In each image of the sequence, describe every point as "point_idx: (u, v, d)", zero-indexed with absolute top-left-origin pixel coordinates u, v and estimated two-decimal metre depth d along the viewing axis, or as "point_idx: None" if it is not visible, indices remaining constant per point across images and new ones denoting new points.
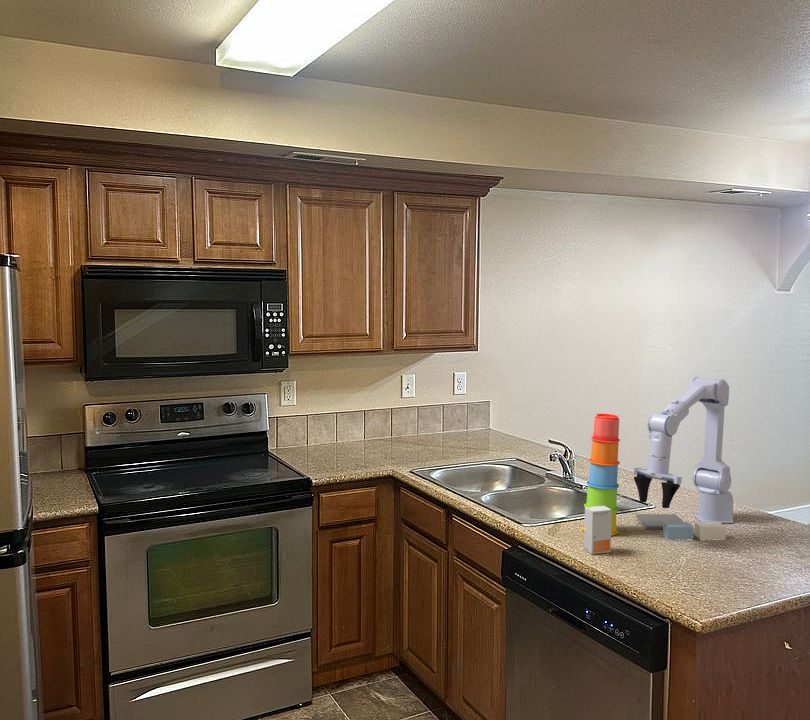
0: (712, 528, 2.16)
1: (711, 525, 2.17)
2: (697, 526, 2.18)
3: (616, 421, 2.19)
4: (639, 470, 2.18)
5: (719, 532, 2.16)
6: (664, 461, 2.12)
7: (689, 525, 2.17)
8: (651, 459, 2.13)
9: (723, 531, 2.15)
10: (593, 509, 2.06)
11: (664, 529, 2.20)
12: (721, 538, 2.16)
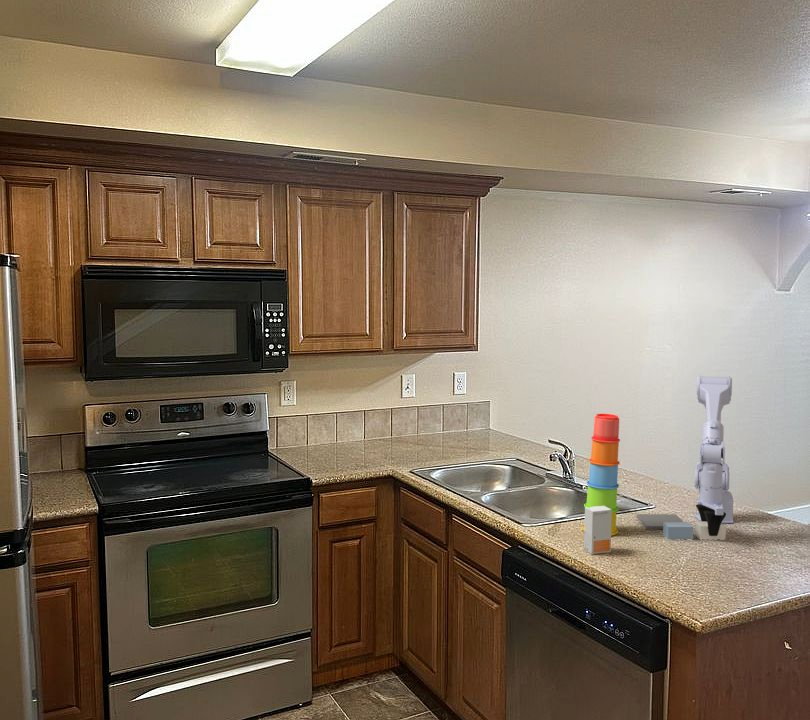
0: None
1: None
2: (697, 525, 2.18)
3: (616, 421, 2.19)
4: None
5: (719, 531, 2.15)
6: (711, 492, 2.14)
7: (689, 525, 2.17)
8: (700, 488, 2.17)
9: (723, 530, 2.15)
10: (593, 509, 2.06)
11: (664, 529, 2.20)
12: (721, 537, 2.16)
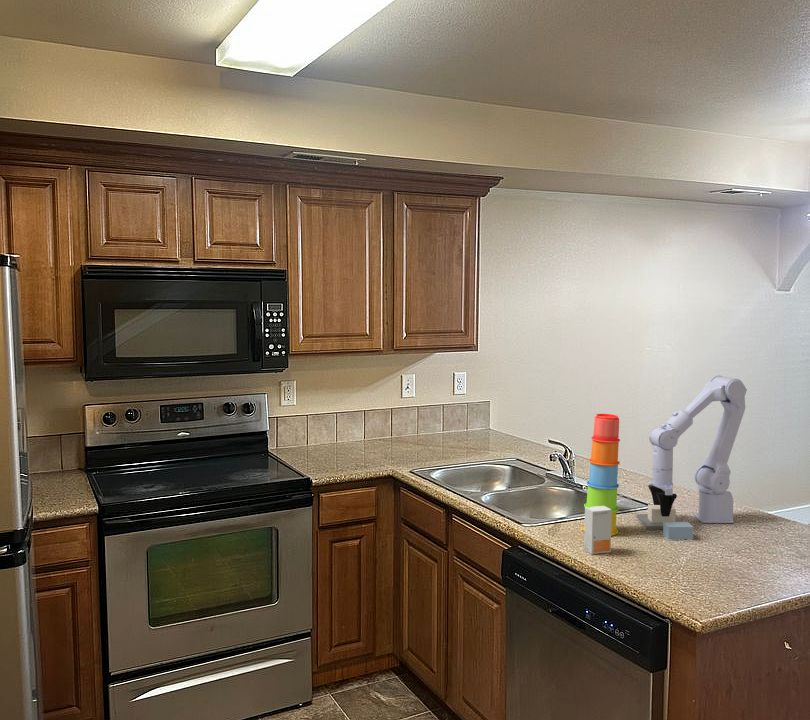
0: None
1: None
2: (649, 509, 2.31)
3: (616, 421, 2.19)
4: None
5: None
6: (661, 473, 2.27)
7: (689, 525, 2.17)
8: None
9: (673, 513, 2.29)
10: (593, 509, 2.06)
11: (664, 529, 2.19)
12: (671, 520, 2.29)
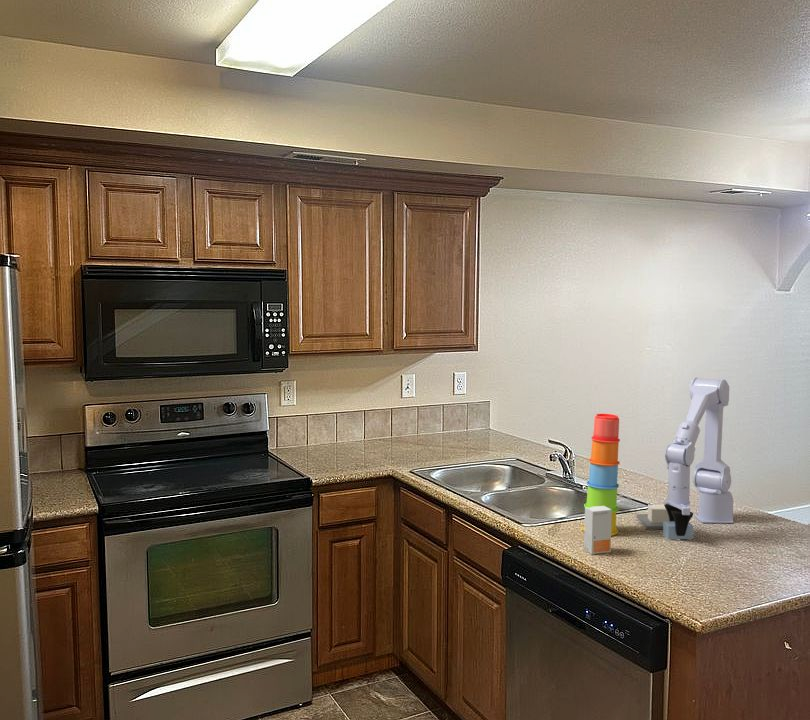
0: (663, 510, 2.29)
1: (663, 508, 2.30)
2: (649, 509, 2.31)
3: (616, 421, 2.19)
4: None
5: None
6: (678, 491, 2.15)
7: (689, 524, 2.17)
8: (668, 488, 2.18)
9: None
10: (593, 509, 2.06)
11: (664, 529, 2.19)
12: None
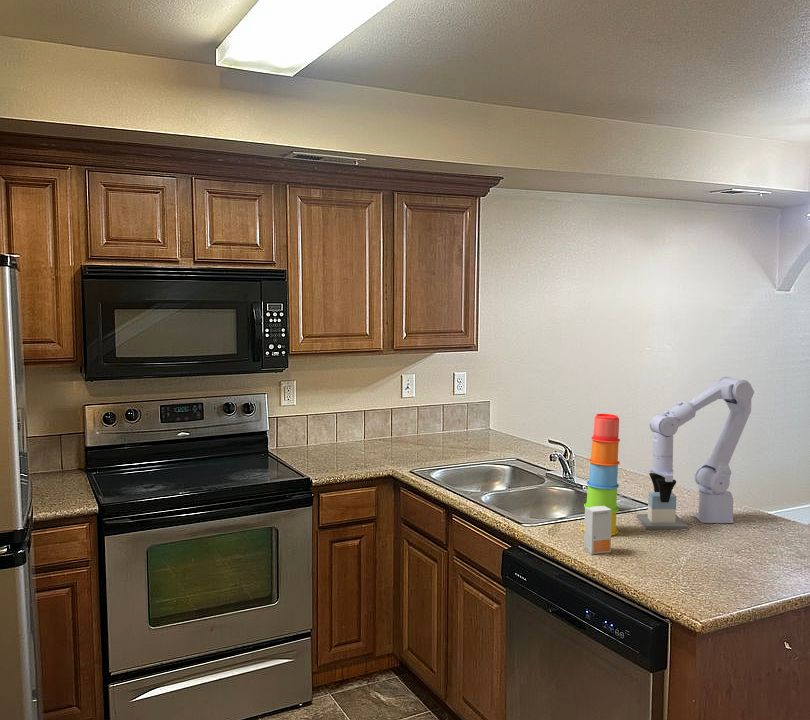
0: (663, 510, 2.29)
1: None
2: (649, 509, 2.31)
3: (616, 421, 2.19)
4: None
5: (669, 514, 2.29)
6: (662, 460, 2.27)
7: (672, 495, 2.30)
8: None
9: (673, 513, 2.29)
10: (593, 509, 2.06)
11: (649, 499, 2.32)
12: (671, 520, 2.29)
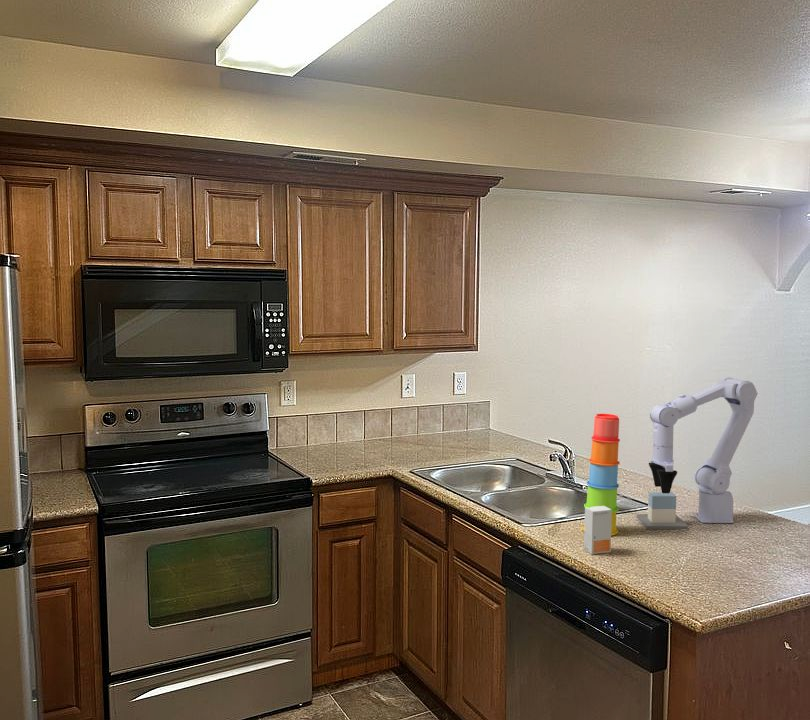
0: (663, 510, 2.29)
1: None
2: (649, 509, 2.31)
3: (616, 421, 2.19)
4: None
5: (669, 514, 2.29)
6: (662, 450, 2.27)
7: (672, 495, 2.30)
8: (653, 447, 2.30)
9: (673, 513, 2.29)
10: (593, 509, 2.06)
11: (649, 499, 2.32)
12: (671, 520, 2.29)
